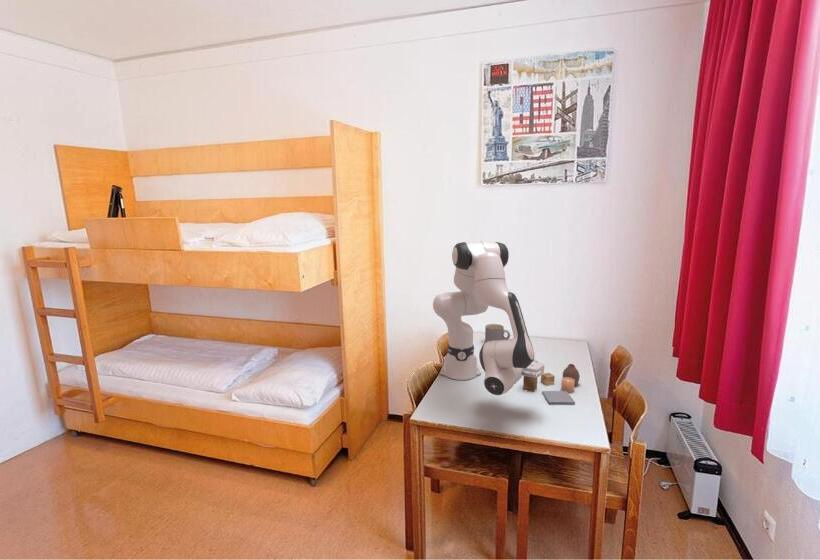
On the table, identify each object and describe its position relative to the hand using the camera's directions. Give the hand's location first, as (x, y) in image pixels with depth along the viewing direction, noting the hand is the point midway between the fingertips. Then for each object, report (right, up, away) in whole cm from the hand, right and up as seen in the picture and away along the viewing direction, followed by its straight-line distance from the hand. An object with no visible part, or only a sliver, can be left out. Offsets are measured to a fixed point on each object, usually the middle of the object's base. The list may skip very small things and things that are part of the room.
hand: (522, 359), depth 169 cm
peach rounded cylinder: (+22, -15, +12) cm, 29 cm away
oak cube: (+16, -14, +19) cm, 29 cm away
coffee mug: (+4, -5, +71) cm, 71 cm away
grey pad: (+15, -17, +4) cm, 23 cm away
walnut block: (+7, -15, +13) cm, 21 cm away
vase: (+26, -14, +18) cm, 34 cm away
